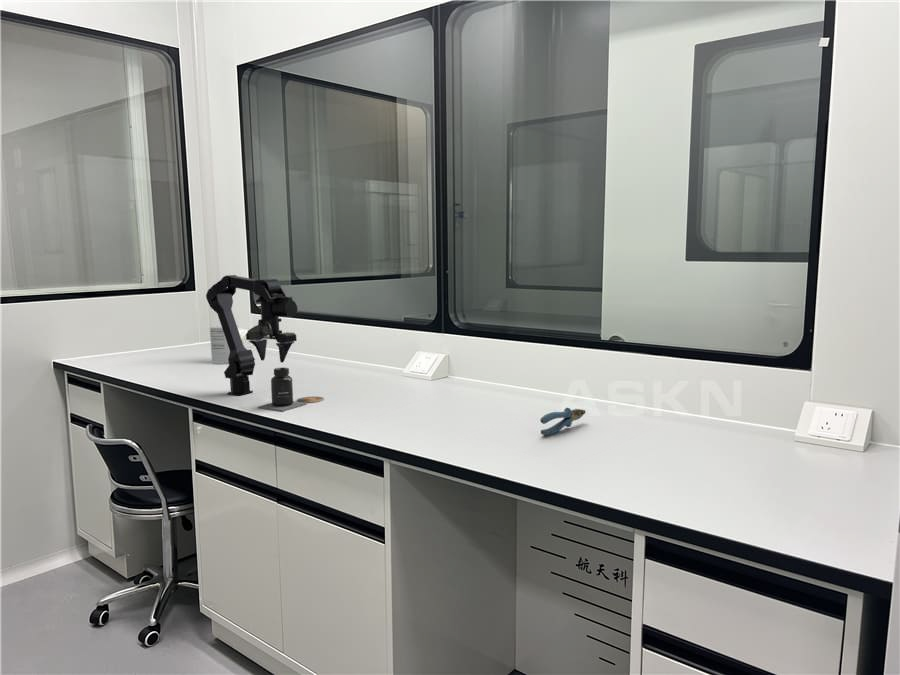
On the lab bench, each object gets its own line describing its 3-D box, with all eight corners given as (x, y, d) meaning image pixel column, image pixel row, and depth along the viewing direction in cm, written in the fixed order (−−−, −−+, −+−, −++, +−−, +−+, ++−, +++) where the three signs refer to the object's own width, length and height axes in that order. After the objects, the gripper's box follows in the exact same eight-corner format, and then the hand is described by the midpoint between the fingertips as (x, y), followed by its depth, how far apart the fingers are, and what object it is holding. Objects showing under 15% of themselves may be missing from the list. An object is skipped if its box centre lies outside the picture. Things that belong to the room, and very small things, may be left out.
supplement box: (221, 360, 312) (219, 324, 310) (240, 360, 311) (238, 324, 308) (211, 364, 302) (209, 327, 300) (230, 364, 301) (228, 327, 299)
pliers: (581, 421, 195) (581, 402, 194) (587, 423, 193) (587, 403, 192) (538, 436, 181) (538, 415, 180) (544, 437, 179) (544, 416, 179)
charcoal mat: (258, 407, 218) (257, 406, 218) (282, 400, 227) (282, 399, 227) (282, 411, 212) (282, 410, 212) (306, 404, 222) (306, 403, 222)
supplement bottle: (282, 407, 215) (280, 371, 214) (267, 405, 219) (265, 369, 217) (297, 403, 221) (296, 367, 219) (283, 401, 225) (281, 366, 223)
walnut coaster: (291, 401, 227) (291, 400, 227) (309, 395, 234) (309, 395, 234) (311, 404, 222) (311, 403, 222) (329, 398, 230) (329, 398, 230)
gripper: (232, 317, 225) (235, 363, 228) (272, 319, 216) (274, 367, 218) (257, 314, 235) (259, 358, 237) (296, 316, 225) (298, 362, 227)
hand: (272, 361), depth 230 cm, fingers open, 9 cm apart
